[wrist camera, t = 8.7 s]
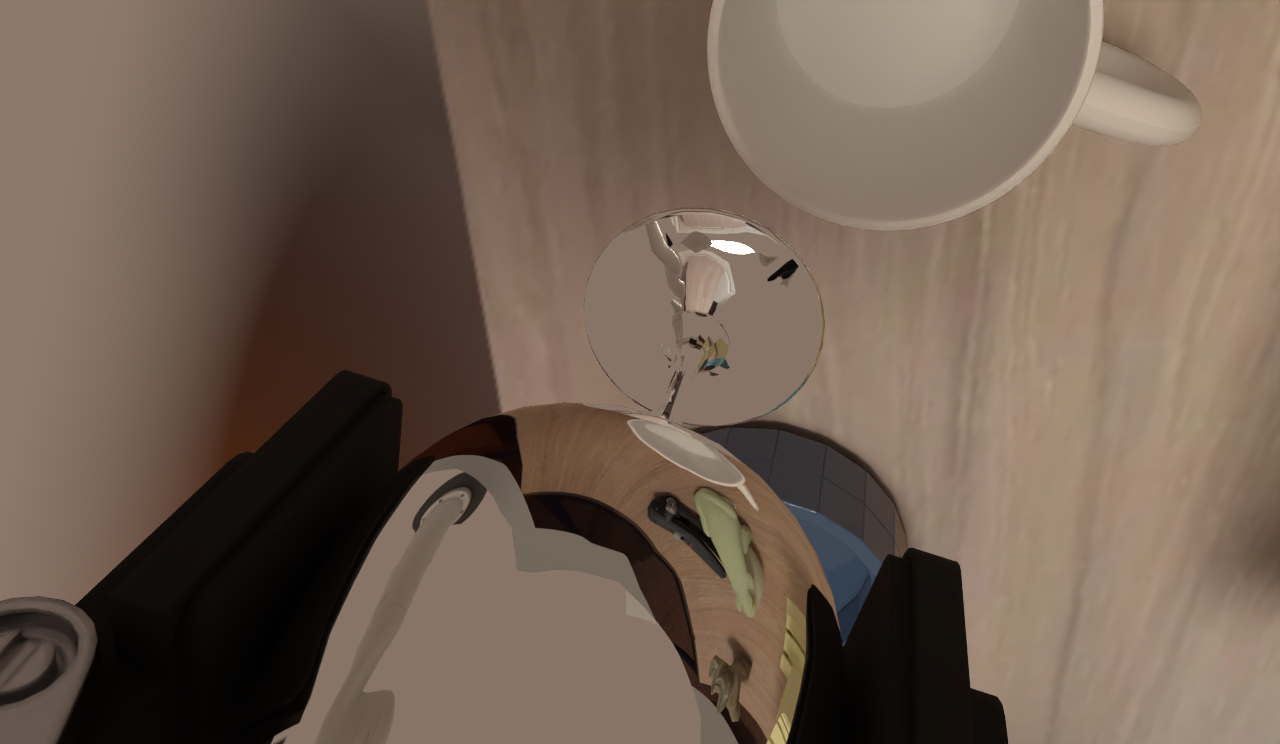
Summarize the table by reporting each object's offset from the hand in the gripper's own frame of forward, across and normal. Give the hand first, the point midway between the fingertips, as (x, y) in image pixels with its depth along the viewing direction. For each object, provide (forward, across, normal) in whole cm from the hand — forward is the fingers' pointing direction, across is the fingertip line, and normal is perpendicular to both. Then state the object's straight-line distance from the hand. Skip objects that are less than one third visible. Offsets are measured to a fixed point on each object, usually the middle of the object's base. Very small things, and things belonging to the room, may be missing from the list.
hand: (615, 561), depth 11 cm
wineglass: (+7, 0, 0) cm, 7 cm away
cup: (+24, -4, -4) cm, 24 cm away
